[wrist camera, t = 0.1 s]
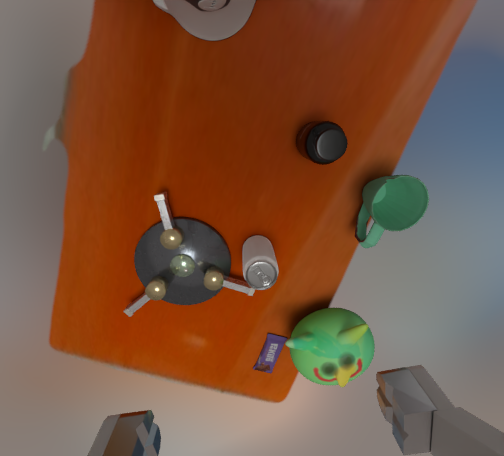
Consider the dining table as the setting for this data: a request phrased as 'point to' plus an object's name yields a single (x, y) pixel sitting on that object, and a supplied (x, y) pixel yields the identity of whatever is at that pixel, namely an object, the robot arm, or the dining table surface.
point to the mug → (390, 206)
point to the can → (259, 263)
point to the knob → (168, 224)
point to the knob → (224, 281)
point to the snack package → (270, 353)
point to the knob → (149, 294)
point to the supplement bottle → (321, 142)
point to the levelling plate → (183, 260)
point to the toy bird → (331, 346)
